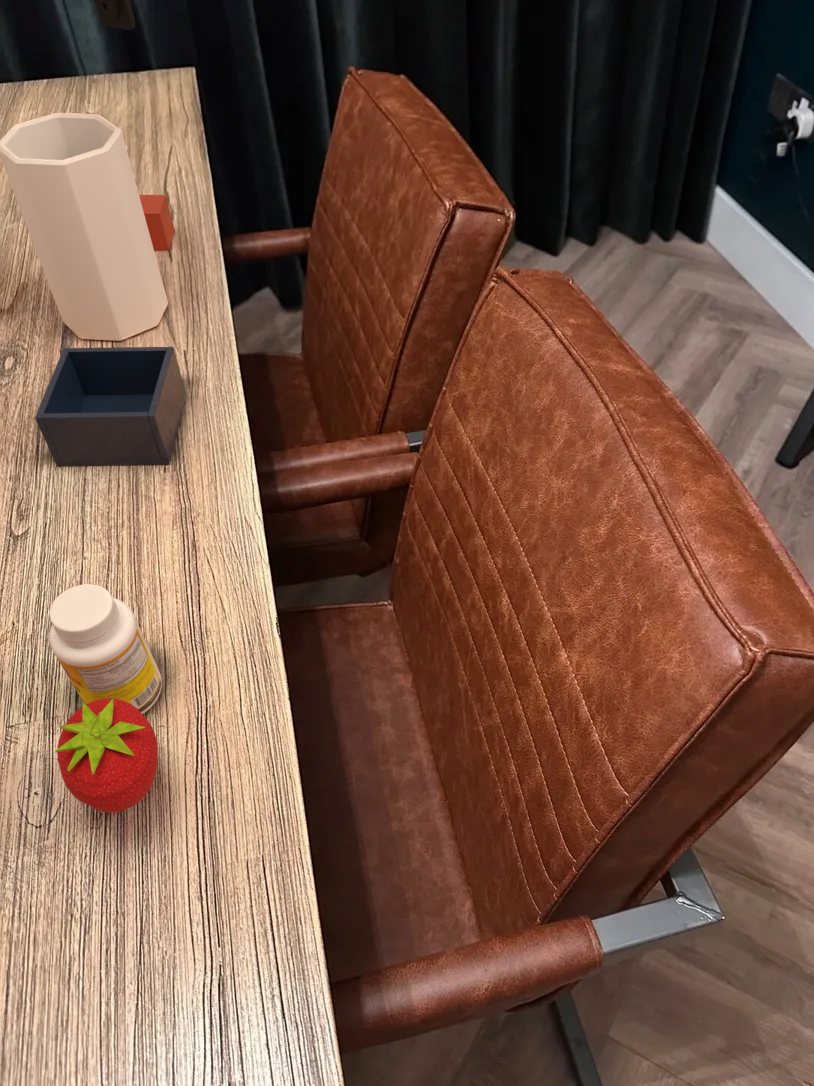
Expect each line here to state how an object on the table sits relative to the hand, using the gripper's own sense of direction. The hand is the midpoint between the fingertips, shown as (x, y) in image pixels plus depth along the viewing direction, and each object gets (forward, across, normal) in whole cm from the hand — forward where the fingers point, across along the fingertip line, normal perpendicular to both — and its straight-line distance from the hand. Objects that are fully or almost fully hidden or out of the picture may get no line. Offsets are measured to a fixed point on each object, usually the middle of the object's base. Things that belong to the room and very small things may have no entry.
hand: (154, 8), depth 75 cm
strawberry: (+28, +53, +29) cm, 67 cm away
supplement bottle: (+28, +47, +23) cm, 59 cm away
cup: (+28, +7, -8) cm, 30 cm away
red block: (+28, -7, -14) cm, 32 cm away
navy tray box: (+28, +23, +5) cm, 36 cm away
